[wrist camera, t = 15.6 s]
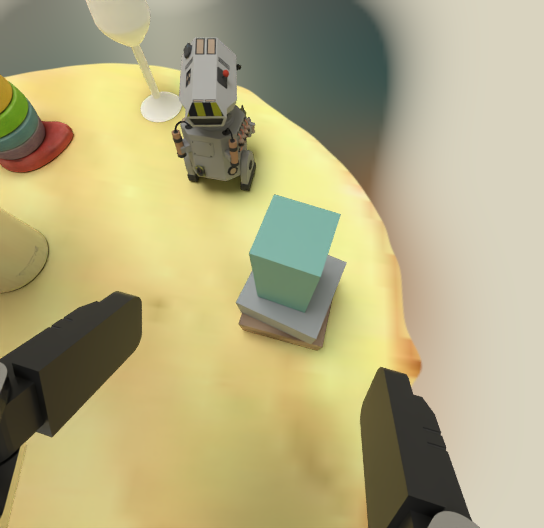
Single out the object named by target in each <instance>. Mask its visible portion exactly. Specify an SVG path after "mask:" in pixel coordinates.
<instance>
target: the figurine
mask: <svg viewBox="0 0 544 528" xmlns="http://www.w3.org/2000/svg"><path fill="white" fill-rule="evenodd" d="M181 61H182V62H181V76H180V92H179V101H180V102H181V104H182V105H183V106H184V108H185V109H186V114H185V118H183V119H182V121H180V122H178V123H177V124H176V126H175V130H173V131H172V135H173V140H174V142H175V145H176V149H177V154H178V157H180V158H184V161H185V166H186V169H187V171H188V178H189V180H190V181H196V182H197V181H198V179H199V177H205V178H211V179H217V180H222V181H228V180H230V179H233V178H235V177H237V176H240V175H241V189H242V190H248V191H249V189H250V186H251V182H252V179H253V175H254V172H255V168H256V163H255V162H254V157H253V153H252V151H250V150H247V142H246V138H247V137H251V134H252V133H255V131H254V126H255V123H252V122H251V119H250V118H249V117H248V118H247V117H246V112H245V110H244V108H243V105H242V106H241V109H239V108H238V107H237V106H236V105H235V104H236V101H237V79H236V70H238V69H241V66H240V65H239V64H237V65H236V55H235V54H234V53H233V52H232V51H231V50H230V49H229V48H228V47H227V46H226V45H224V44H223V43H222V42H221V41H220V40H219V39H218V38H194V40H193V41H192V42H191V44H190V43H188V44H187V45H186V46H185V48H184V53H183V54H182V60H181ZM180 123H181V124H180ZM178 124H180V125H181V129H182V133H183V137H184V139H182V136H181V134H180V131H179V130H176V128H177V125H178Z"/></svg>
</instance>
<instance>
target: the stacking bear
mask: <svg viewBox="0 0 544 528" xmlns="http://www.w3.org/2000/svg"><path fill="white" fill-rule="evenodd" d="M72 137H73V132H72V129H71V128H70V127H69V126H68V125H67V124H64V123H61V122H45V121H41V120H40V118H39V116H38V115H37V113H36V111H35V109H34V108H33V106H32V105H31V103H30V102H29V101H28V99H27V98H26V97H25V96H24V95H23V94H22V93H21V92H20V91H19V90H18V89H17V88H16V87H15V86H14V85H13V84H11V83H10V82H9V81H7V80H6V79H5V78H4V77H2V76H1V75H0V164H1V165H2V166H3V167H4V168H6V169H7V170H10V171H14V172H28V171H32V170H35V169H37V168H40V167H41V166H43V165H45V164H47V163H48V162H50V161H51V160H53V159H54V158H55V157H57V156H58V155H59V154H60V153H61V152H62V151H63V150H64V149H65V148H66V147H67V145H68V144H69V142H70V141H71V139H72Z"/></svg>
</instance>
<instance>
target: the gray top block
mask: <svg viewBox="0 0 544 528" xmlns="http://www.w3.org/2000/svg"><path fill="white" fill-rule="evenodd" d="M346 263H347V262H344V261H342V260H339V259H337V258H334V257H332V256H329V255H328V256H327V259H326V262H325V265H324V268H323V271H322V274H321V277H320V280H319V282H318V284H317V286H316V289H315V291H314V293H313V295H312V298H311V300H310V302H309V304H308V307H307V309H306V311H305V313H303V312H301V311H298V310H295V309H292V308H289V307H286V306H284V305H281V304H278V303H275V302H272V301H269V300H266V299H264V298H261V297H258V296H257V291H256V286H255V281H254V276H253V271H252V272H251V274H250V276H249V278H248V280H247V282H246V284H245V286H244V288H243V290H242V292H241V294H240V295H239V297H238V299H237V301H236V304H237V306H238V307H239V309H240V311H241V312H242V313H244V314H246V315H248V316H250V317H252V318H254V319H257V320H259V321H261V322H263V323H265V324H267V325H270V326H272V327H274V328H276V329H278V330H280V331H283V332H285V333H287V334H289V335H291V336H293V337H296V338H298V339H300V340H302V341H304V342H306V343H309V344H312V343H313V342H314V341H315V340H316V339H317V336H318V334H319V331H320V328H321V326H322V323H323V321H324V318H325V316H326V313H327V311H328V308H329V306H330V303H331V301H332V298H333V296H334V293H335V291H336V288H337V286H338V283H339V281H340V278H341V276H342V273H343V271H344V268H345V266H346Z"/></svg>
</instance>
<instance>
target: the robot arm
mask: <svg viewBox="0 0 544 528" xmlns="http://www.w3.org/2000/svg"><path fill="white" fill-rule="evenodd" d="M47 255H48V245H47V241H46V239H45V238H44V236H43V235H42V234H41V233H40V232H39V231H37V230H35V229H34V228H32V227H30V226H29V225H27V224H25V223H24V222H22V221H21V220H19V219H17V218H16V217H14V216H13V215H11V214H9V213H8V212H6V211H5V210H3V209H1V208H0V293H3V292H10V291H13V290H16V289H19V288H20V287H22V286H24V285H26V284H27V283H29V282H30V281H31V280H33V279H34V278H35V277H36V276H37V275H38V273H39V272H40V271H41V269H42V268H43V266H44V264H45V262H46V259H47ZM141 335H142V302H141V299H140V298H139V297H137V296H133V295H130V294H126V293H123V292H119V291H116V292H114V293H112V294H110V295H109V296H108V297H106V298H105V299H103V300H102V301H100V302H98V301H96V302H93V303H90V304H87V305H85V306H82V307H79V308H77V309H76V310H74V311H73V312H71V313H70V314H68V315H67V316H65V317H64V319H61V320H59V321H58V322H56V323H55V324H53V325H52V327H51V328H50V327H48V328H47V329H45V330H44V331H42V332H41V333H39V334H38V335H36V336H35V337H33V338H32V339H30V340H29V341H27V342H25V343H24V344H22V345H21V346H19V347H18V348H16V349H15V350H13V351H12V352H10V353H9V354H7V355H6V356H4V357H3V358H1V359H0V528H8V522H9V518H10V514H11V510H12V506H13V502H14V497H15V493H16V489H17V485H18V481H19V477H20V473H21V468H22V464H23V460H24V456H25V452H26V446H27V445H26V441H27V440H28V439H29V438H30V437H31V436H32V435H33V434H34V433H35V432H38V433H41V434H44V435H47V436H50V437H53V436H54V435H55V434H56V433H57V432H58V431H59V430H60V429H61V427H62V426H63V425H64V424H65V423H66V422H67V421H68V420H69V419H70V418H71V417H72V416H73V415H74V414H75V413H76V412H77V411H78V410H79V409H80V408H81V407H82V406H83V404H84V403H85V402H86V401H87V400H88V399H89V398H90V397H91V396H92V395H93V394H94V393H95V392H96V391H97V390H98V389H99V388H100V387H101V386H102V385H103V384H104V383H105V381H106V380H107V379H108V378H109V377H110V376H111V375H112V374H113V373H114V372H115V371H116V370H117V369H118V368H119V367H120V366H121V365H122V364H123V363H124V362H125V361H126V359H127V358H128V357H129V356H130V355H131V354H132V353H133V352H134V351H135V350H136V348H137V347H138V345H139V342H140V340H141ZM360 425H361V438H362V451H363V464H364V477H365V490H366V503H367V516H368V528H480V527H479V526H477V525H476V524H475V523H474V522H472V519H471V517H470V514H469V512H468V509H467V506H466V503H465V500H464V498H463V494H462V491H461V489H460V486H459V483H458V480H457V477H456V475H455V471H454V468H453V466H452V463H451V460H450V457H449V454H448V452H447V451H446V445H445V443H444V440H443V437H442V436H441V431H440V428H439V425H438V422H437V420H436V417H435V414H434V413H433V411H432V410H431V409H430V407H429V406H428V405H427V403H426V402H425V401H424V399H423V398H422V397H420V396H416V395H413V392H412V389H411V385H410V382H409V378H408V376H407V375H406V374H404V373H400V372H397V371H393V370H390V369H386V368H383V367H380V368H379V369H378V370H377V372H376V374H375V377H374V379H373V381H372V383H371V386H370V388H369V390H368V392H367V395H366V397H365V399H364V401H363V405H362V409H361V416H360Z"/></svg>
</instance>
